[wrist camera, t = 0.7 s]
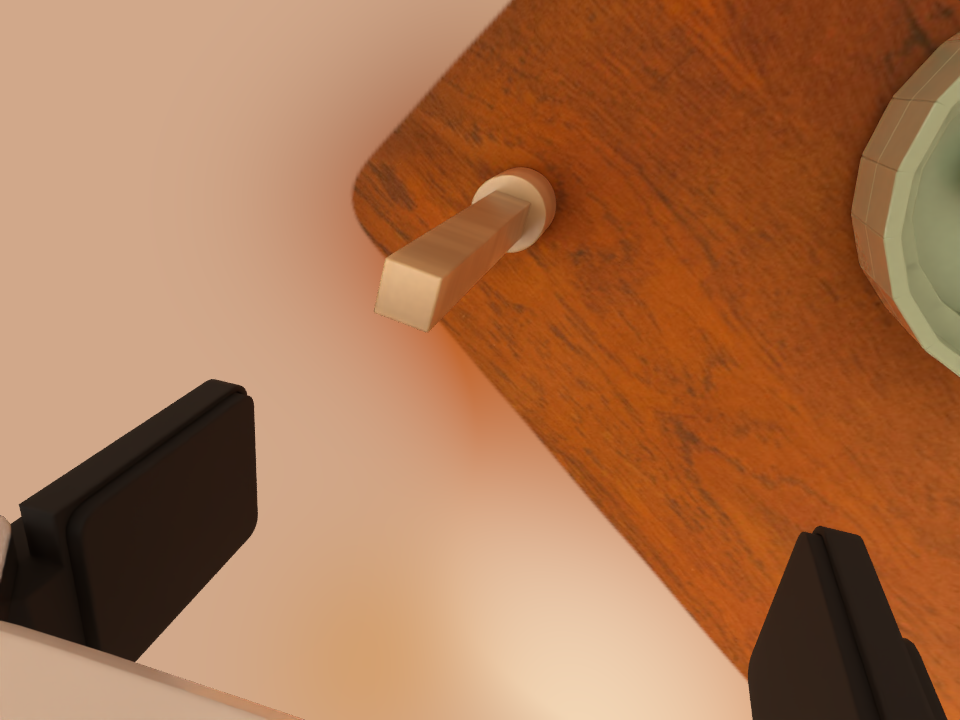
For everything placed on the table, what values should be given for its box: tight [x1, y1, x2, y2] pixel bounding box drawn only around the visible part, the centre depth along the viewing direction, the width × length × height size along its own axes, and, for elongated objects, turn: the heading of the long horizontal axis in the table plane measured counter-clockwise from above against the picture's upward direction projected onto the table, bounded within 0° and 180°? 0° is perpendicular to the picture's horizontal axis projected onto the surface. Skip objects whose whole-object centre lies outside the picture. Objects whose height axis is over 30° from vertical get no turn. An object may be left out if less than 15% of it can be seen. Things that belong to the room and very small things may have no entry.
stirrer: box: [374, 167, 556, 332], centre depth 26 cm, size 4×4×16 cm
